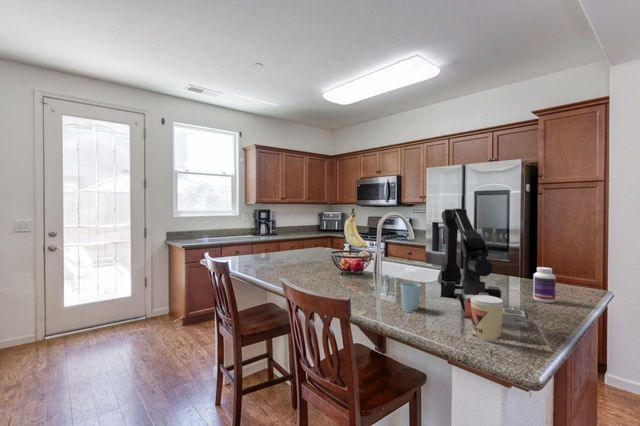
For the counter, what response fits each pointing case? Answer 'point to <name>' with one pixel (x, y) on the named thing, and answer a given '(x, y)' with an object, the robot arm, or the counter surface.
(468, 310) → the red block with knob
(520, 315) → the panel
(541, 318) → the counter surface
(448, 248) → the robot arm
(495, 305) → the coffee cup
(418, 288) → the cup
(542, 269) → the pill bottle
